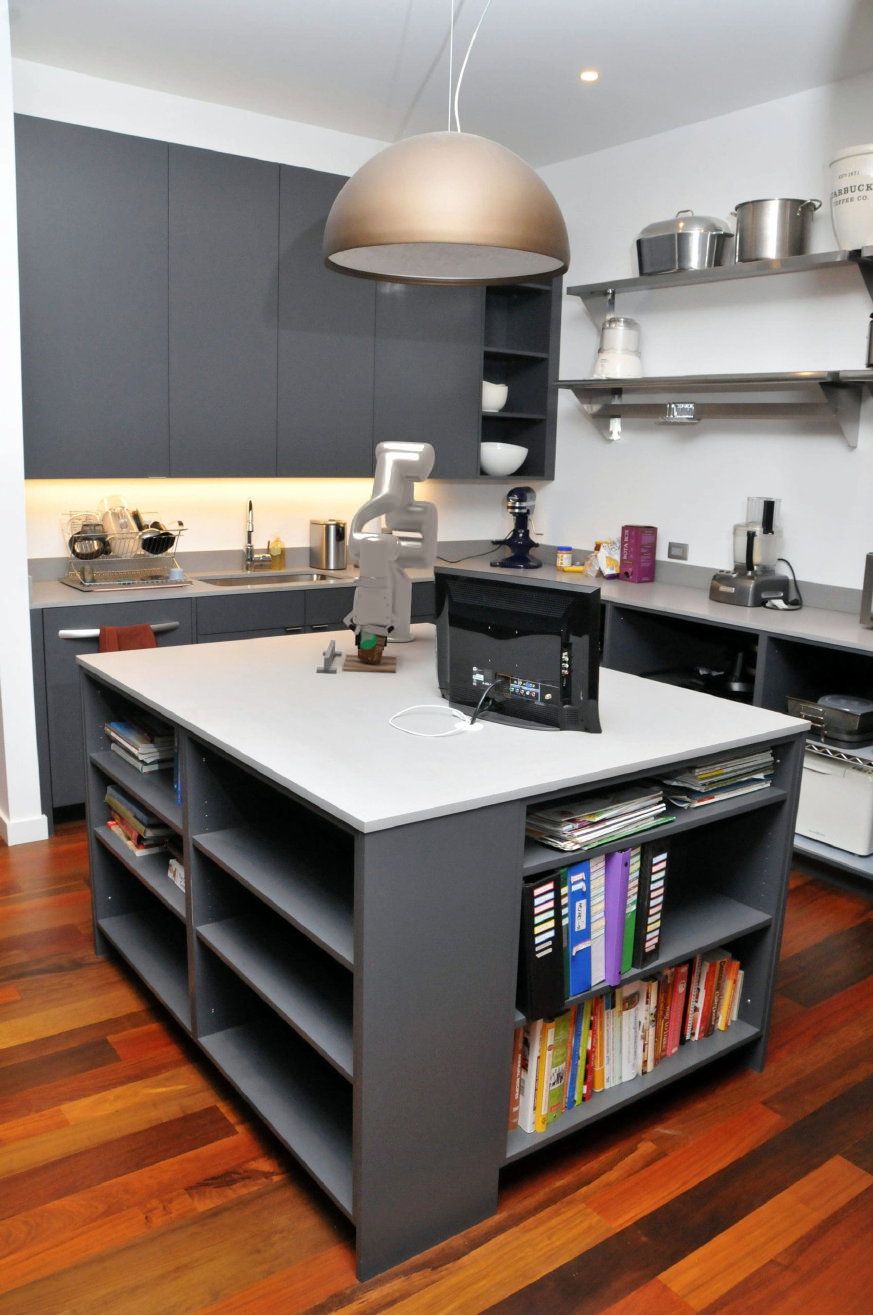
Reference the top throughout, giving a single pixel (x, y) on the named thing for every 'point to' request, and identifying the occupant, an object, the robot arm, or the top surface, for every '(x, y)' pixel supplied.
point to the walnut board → (370, 664)
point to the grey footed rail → (329, 659)
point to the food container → (371, 643)
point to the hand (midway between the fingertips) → (370, 648)
